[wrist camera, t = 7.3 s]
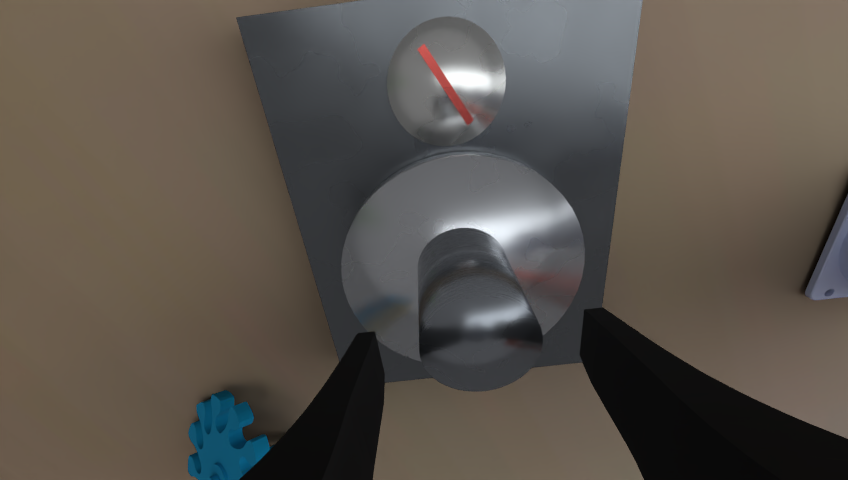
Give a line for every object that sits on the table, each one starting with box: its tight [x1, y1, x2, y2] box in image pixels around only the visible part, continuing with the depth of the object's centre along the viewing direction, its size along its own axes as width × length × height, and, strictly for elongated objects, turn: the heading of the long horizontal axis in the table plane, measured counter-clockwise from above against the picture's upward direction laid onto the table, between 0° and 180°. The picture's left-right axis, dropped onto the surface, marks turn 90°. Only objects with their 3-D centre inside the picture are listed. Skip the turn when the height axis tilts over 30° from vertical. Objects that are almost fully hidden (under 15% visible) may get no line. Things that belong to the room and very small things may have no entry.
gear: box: [188, 390, 274, 480], centre depth 23 cm, size 11×6×10 cm
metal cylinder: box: [418, 228, 543, 391], centre depth 14 cm, size 4×4×5 cm
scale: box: [236, 0, 642, 383], centre depth 17 cm, size 14×18×3 cm
